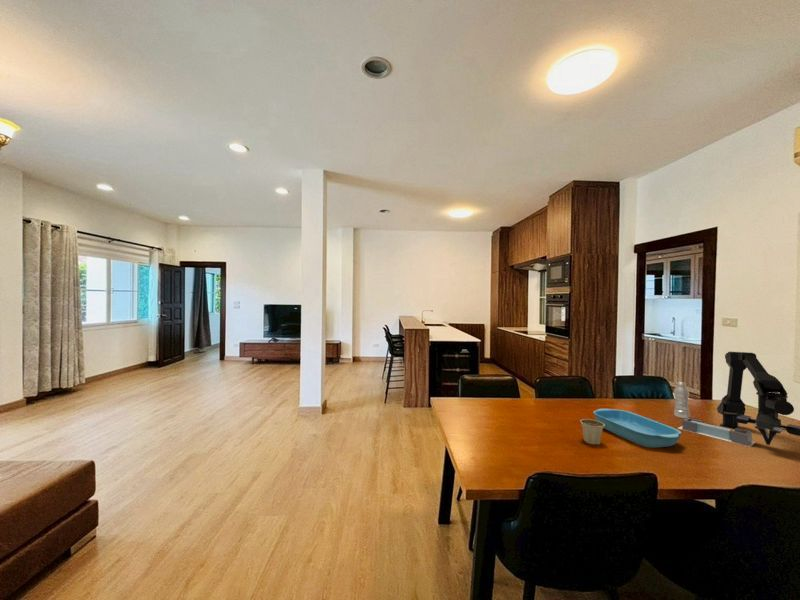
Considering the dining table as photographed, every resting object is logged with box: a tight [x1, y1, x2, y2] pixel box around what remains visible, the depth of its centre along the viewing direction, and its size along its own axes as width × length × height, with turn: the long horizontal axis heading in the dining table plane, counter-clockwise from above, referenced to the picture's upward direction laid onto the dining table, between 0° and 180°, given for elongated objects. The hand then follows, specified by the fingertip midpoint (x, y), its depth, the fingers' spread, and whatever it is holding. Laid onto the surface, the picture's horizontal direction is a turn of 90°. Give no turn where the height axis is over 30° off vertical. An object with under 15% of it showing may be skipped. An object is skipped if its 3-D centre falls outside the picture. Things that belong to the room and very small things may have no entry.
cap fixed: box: [681, 417, 702, 434], centre depth 160 cm, size 7×5×4 cm
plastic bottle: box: [673, 380, 691, 420], centre depth 179 cm, size 6×7×20 cm
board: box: [677, 425, 756, 448], centre depth 153 cm, size 9×25×1 cm, turn 34°
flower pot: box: [579, 418, 605, 445], centre depth 145 cm, size 9×9×9 cm
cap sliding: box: [731, 428, 753, 446], centre depth 146 cm, size 7×5×4 cm
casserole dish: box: [593, 408, 682, 449], centre depth 154 cm, size 37×22×7 cm, turn 12°
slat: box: [691, 421, 732, 440], centre depth 155 cm, size 4×14×4 cm, turn 34°
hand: (768, 444), depth 139 cm, fingers closed
